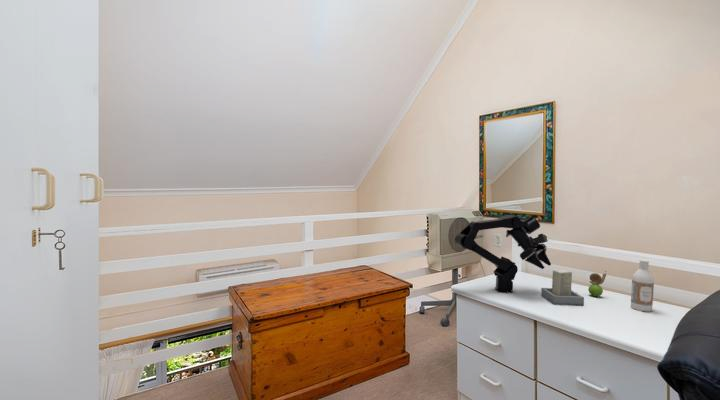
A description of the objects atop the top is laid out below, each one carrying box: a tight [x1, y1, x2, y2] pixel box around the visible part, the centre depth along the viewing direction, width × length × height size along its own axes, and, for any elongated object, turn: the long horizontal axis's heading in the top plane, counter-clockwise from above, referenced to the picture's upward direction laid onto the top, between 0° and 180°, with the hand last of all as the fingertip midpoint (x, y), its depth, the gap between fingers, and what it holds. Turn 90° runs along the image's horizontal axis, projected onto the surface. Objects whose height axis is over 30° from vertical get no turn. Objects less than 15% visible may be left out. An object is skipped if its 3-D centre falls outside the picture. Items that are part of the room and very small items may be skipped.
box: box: [540, 287, 585, 307], centre depth 155 cm, size 12×12×4 cm
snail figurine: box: [587, 270, 607, 297], centre depth 161 cm, size 5×6×12 cm
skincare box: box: [551, 269, 573, 296], centre depth 154 cm, size 6×4×12 cm
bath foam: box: [630, 259, 655, 313], centre depth 145 cm, size 7×7×20 cm
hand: (547, 266), depth 158 cm, fingers open, 9 cm apart
